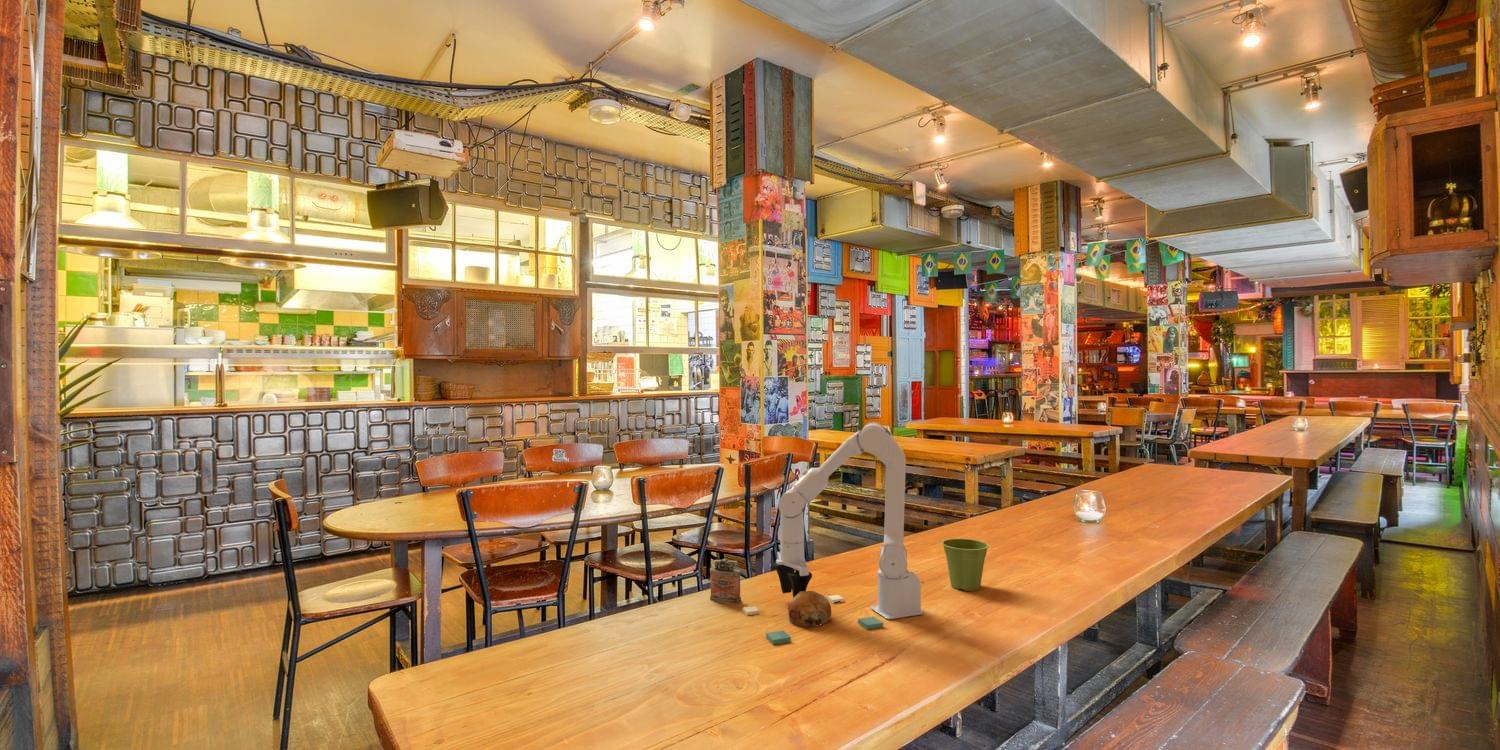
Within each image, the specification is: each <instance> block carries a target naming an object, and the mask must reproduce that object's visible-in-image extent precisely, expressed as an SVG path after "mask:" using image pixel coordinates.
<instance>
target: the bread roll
mask: <svg viewBox="0 0 1500 750" xmlns="http://www.w3.org/2000/svg"><path fill="white" fill-rule="evenodd" d="M831 607H832V606H831V602H830V601H829V600H828V599H827V597H825V596H824V595H823V594H821V593H819V592H817V591H813V590H806V591H800V592H799V593H798V594H797V595H796V596H795V597H794V598H793V597H792V599H790V600H789V602H788V605H787V609H788V610H787V611H788V619H789V622H790V623H791V624H794V625H795V624H796V626H799V625H800V627H806V626H810V627H811V626H814V627H817V626H816V625H819V626H821V625H820V624H823V625H825V624H826V623H828V622H829V621H830V619H831V618H832V608H831ZM827 621H828V622H827ZM825 622H826V623H825Z"/></svg>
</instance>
